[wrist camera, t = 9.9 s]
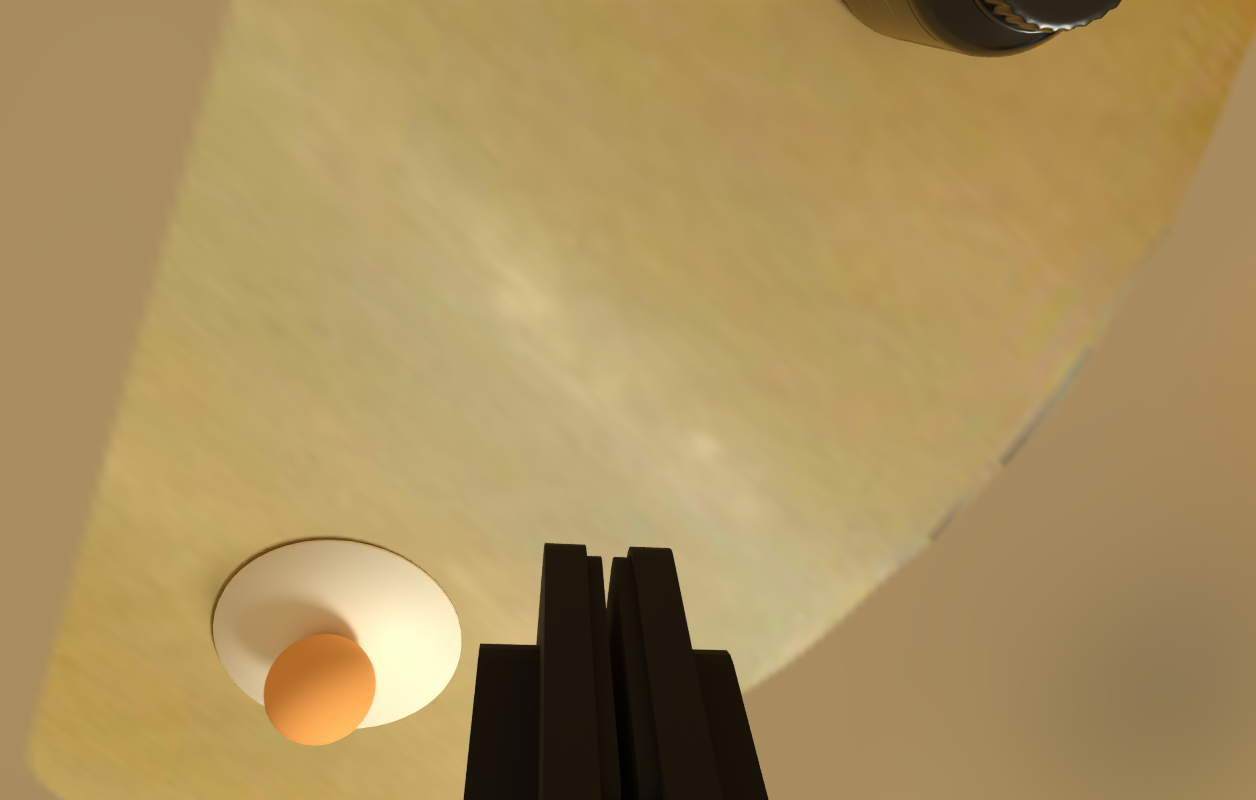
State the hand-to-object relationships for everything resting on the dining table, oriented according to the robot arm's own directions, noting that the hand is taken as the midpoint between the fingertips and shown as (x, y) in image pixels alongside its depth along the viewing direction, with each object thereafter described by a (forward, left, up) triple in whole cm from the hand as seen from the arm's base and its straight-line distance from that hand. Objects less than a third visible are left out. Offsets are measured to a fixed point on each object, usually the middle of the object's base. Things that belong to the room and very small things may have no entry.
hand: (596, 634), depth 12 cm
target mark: (+26, -10, -29) cm, 40 cm away
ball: (+27, -11, -26) cm, 39 cm away
